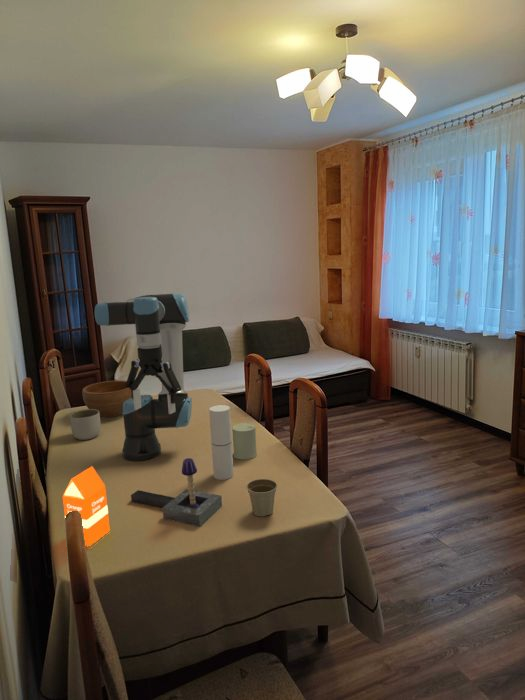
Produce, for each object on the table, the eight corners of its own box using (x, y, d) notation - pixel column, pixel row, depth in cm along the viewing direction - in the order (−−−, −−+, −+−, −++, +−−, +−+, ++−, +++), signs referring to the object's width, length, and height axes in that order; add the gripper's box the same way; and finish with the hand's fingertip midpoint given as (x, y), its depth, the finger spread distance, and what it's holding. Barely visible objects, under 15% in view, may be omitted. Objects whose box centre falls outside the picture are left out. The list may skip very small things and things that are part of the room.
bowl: (99, 408, 266) (96, 380, 263) (144, 408, 262) (142, 380, 259) (75, 424, 242) (72, 393, 239) (125, 424, 238) (122, 393, 235)
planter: (66, 440, 221) (63, 416, 218) (85, 430, 232) (83, 408, 230) (88, 443, 216) (86, 419, 214) (107, 433, 227) (105, 410, 225)
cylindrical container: (218, 481, 175) (213, 412, 170) (210, 473, 181) (206, 407, 176) (236, 476, 178) (233, 409, 173) (228, 469, 184) (225, 403, 180)
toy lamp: (191, 515, 152) (187, 464, 149) (181, 511, 155) (177, 460, 152) (203, 509, 155) (199, 458, 152) (193, 504, 158) (189, 455, 155)
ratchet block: (121, 508, 159) (120, 498, 158) (147, 490, 170) (146, 481, 170) (200, 526, 147) (199, 515, 146) (222, 505, 158) (221, 495, 157)
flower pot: (246, 505, 158) (245, 479, 156) (276, 502, 159) (275, 477, 157) (248, 520, 149) (247, 493, 147) (280, 518, 149) (279, 491, 148)
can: (254, 460, 192) (252, 430, 189) (230, 459, 194) (229, 429, 191) (259, 450, 200) (257, 422, 198) (236, 449, 202) (235, 421, 200)
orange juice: (67, 543, 141) (59, 477, 137) (89, 527, 149) (81, 464, 145) (90, 548, 138) (82, 480, 134) (110, 531, 146) (103, 467, 142)
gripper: (110, 346, 161) (116, 410, 165) (175, 350, 150) (180, 418, 154) (126, 342, 167) (131, 403, 171) (189, 345, 157) (193, 410, 161)
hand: (154, 410), depth 163 cm, fingers open, 13 cm apart
